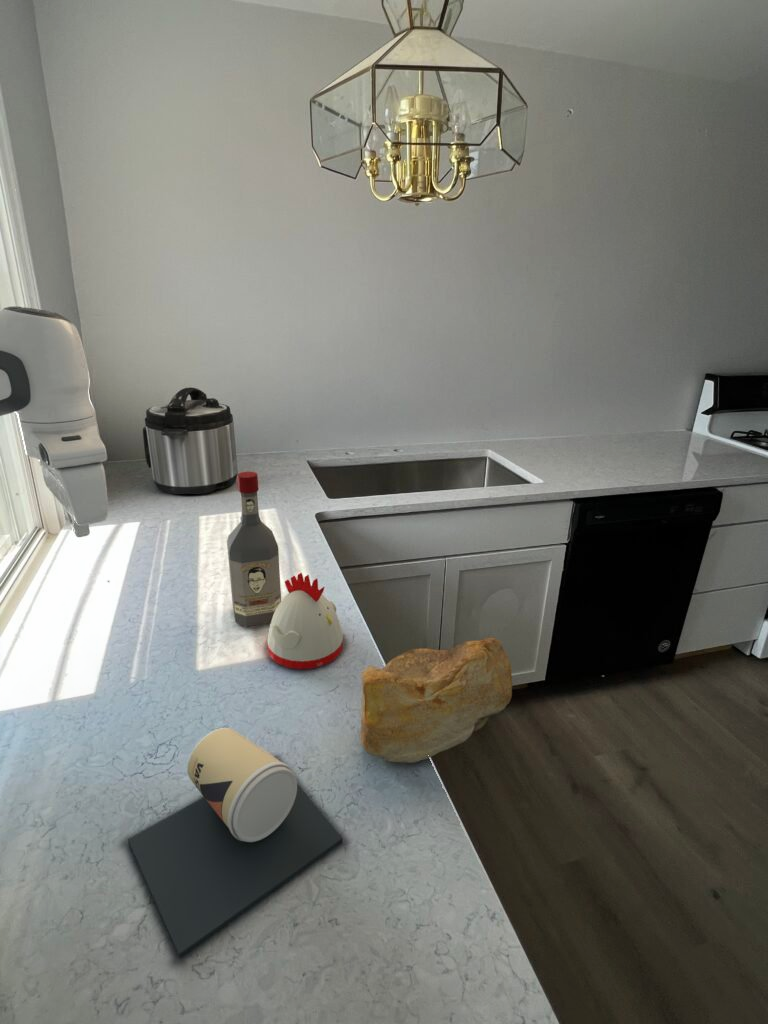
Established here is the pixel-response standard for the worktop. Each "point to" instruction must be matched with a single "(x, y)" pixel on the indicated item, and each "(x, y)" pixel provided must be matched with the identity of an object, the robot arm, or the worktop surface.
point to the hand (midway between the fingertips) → (80, 533)
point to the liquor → (253, 561)
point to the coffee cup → (242, 783)
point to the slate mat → (223, 865)
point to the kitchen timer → (304, 627)
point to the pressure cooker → (190, 444)
